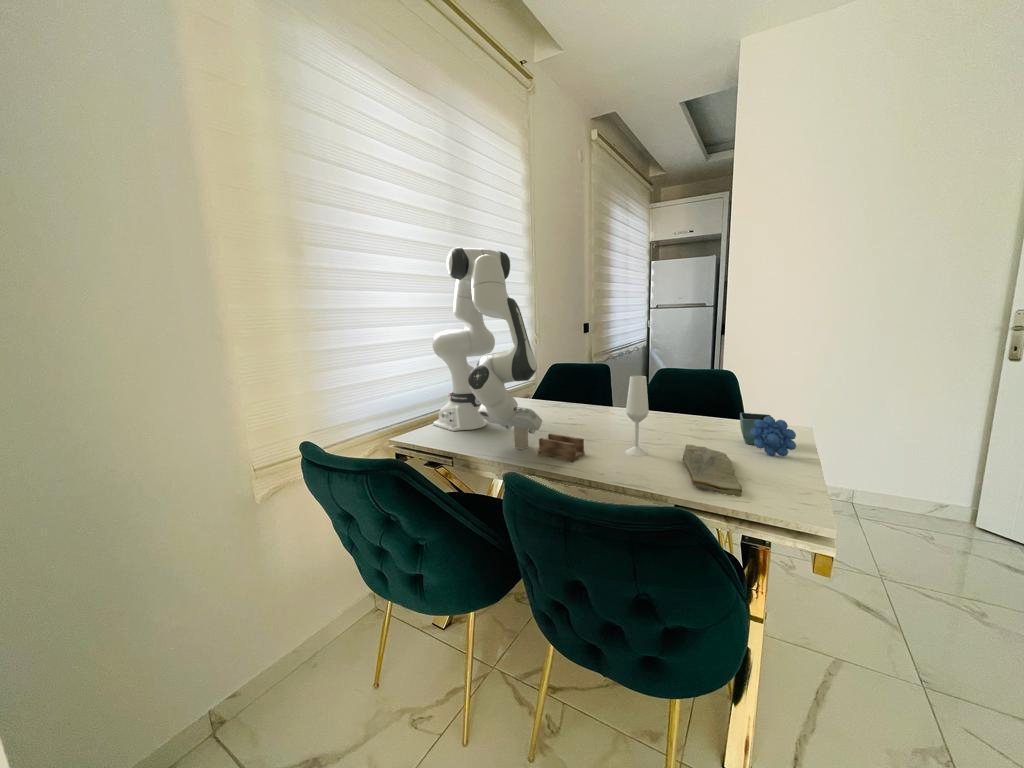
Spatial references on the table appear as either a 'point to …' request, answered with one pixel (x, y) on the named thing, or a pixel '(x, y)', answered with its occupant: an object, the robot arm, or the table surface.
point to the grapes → (773, 436)
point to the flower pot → (749, 425)
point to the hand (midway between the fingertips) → (521, 429)
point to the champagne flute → (637, 408)
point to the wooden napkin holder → (561, 447)
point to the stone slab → (711, 470)
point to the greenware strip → (521, 437)
